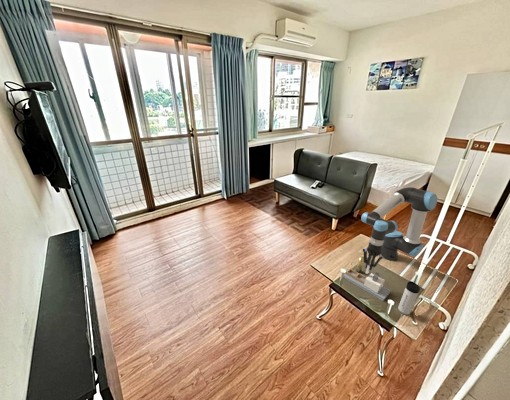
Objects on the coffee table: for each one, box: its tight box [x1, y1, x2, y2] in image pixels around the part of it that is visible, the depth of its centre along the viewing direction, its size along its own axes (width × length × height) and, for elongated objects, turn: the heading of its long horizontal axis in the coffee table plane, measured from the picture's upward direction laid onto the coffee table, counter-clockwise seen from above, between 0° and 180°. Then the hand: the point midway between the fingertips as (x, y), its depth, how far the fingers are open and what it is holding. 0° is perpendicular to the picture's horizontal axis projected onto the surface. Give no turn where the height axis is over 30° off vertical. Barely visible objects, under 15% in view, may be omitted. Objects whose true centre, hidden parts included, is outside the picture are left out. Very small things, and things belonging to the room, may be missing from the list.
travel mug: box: [397, 280, 421, 316], centre depth 129 cm, size 6×7×20 cm
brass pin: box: [355, 256, 364, 273], centre depth 165 cm, size 4×4×12 cm
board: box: [342, 268, 391, 302], centre depth 152 cm, size 12×28×6 cm, turn 41°
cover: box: [364, 271, 386, 293], centre depth 147 cm, size 9×9×10 cm
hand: (367, 272), depth 150 cm, fingers closed
